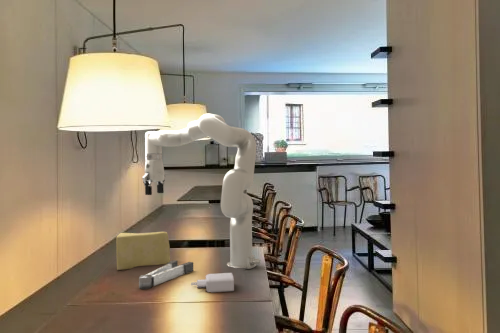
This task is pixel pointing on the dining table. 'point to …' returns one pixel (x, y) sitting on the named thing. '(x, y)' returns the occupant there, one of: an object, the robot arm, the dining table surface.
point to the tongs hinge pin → (145, 281)
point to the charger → (216, 282)
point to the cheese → (142, 249)
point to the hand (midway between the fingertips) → (154, 193)
